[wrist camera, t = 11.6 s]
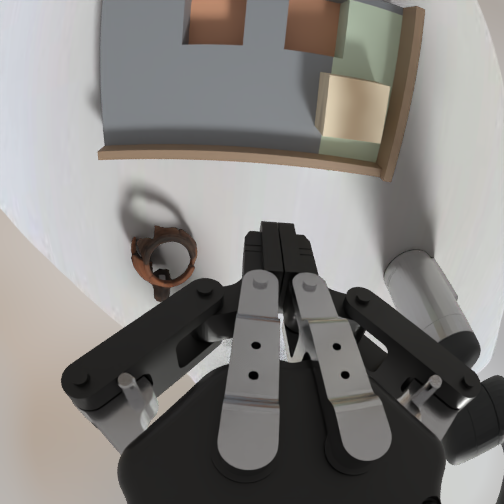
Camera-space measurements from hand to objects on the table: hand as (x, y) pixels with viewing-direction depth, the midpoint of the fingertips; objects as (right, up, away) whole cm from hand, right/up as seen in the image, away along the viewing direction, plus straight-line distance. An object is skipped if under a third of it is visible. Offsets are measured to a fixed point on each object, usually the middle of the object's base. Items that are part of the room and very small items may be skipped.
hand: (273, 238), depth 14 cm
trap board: (-1, +20, +15) cm, 25 cm away
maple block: (+9, +15, +14) cm, 22 cm away
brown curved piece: (-14, 0, +30) cm, 33 cm away
